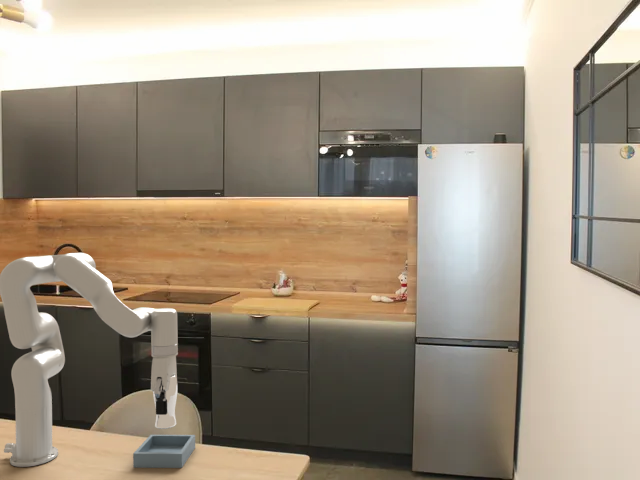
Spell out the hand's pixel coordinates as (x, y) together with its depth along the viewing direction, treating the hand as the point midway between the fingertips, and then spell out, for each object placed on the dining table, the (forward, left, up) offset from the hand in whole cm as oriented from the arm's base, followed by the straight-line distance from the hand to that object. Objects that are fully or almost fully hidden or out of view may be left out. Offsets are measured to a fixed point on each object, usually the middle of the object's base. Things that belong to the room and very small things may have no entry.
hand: (165, 409), depth 154 cm
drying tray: (0, 0, -14) cm, 14 cm away
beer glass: (0, 0, -5) cm, 5 cm away
